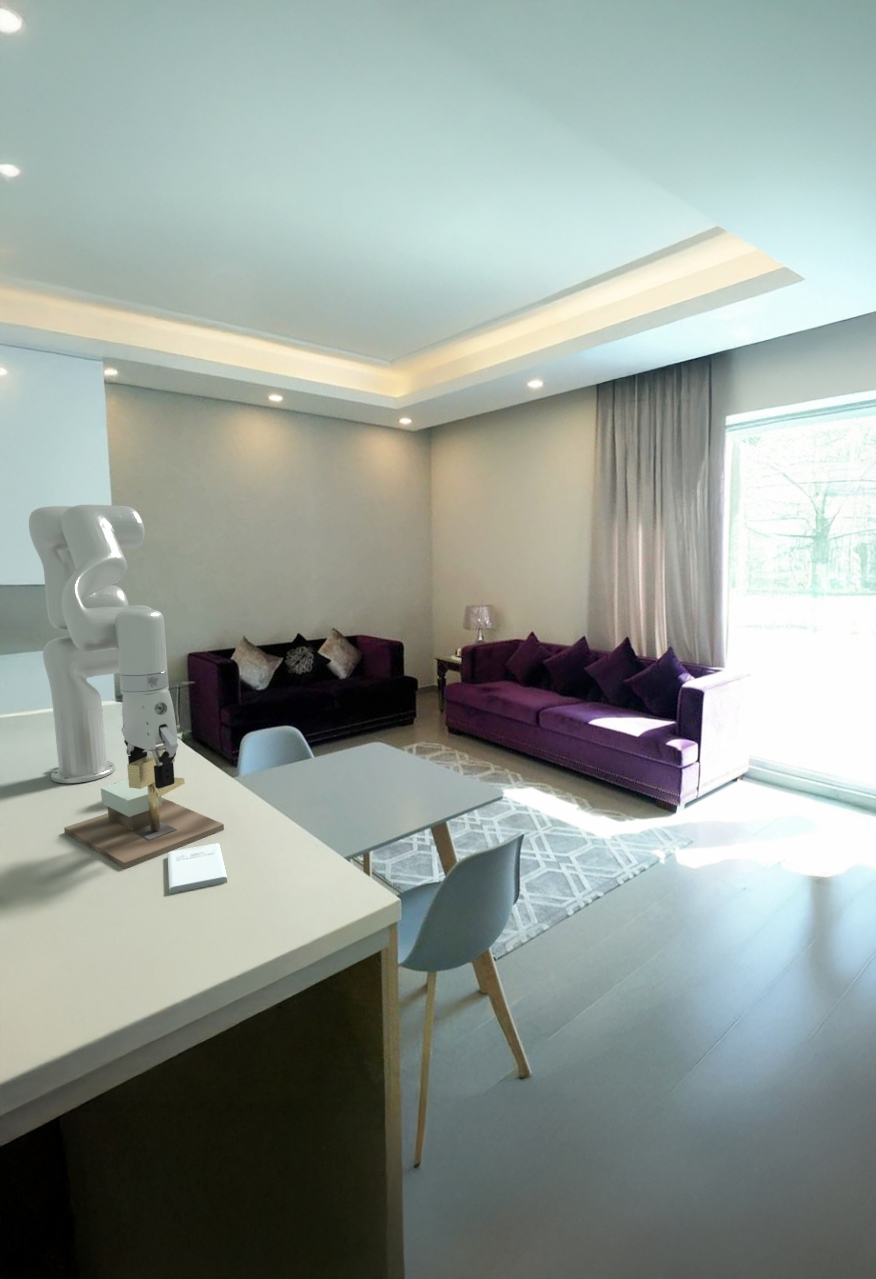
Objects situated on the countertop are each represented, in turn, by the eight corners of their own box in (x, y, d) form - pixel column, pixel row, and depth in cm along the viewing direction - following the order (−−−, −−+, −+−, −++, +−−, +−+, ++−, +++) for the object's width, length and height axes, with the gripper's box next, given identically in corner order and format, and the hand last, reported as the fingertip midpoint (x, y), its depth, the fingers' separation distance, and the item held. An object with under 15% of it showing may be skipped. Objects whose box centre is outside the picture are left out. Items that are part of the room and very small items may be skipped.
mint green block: (102, 803, 118) (100, 787, 118) (134, 793, 123) (132, 778, 122) (129, 816, 112) (127, 800, 112) (161, 805, 117) (160, 790, 116)
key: (176, 812, 120) (171, 745, 118) (187, 813, 119) (182, 746, 117) (133, 837, 110) (127, 764, 108) (144, 839, 109) (139, 766, 107)
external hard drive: (169, 897, 95) (167, 860, 106) (227, 885, 98) (220, 850, 109) (168, 887, 94) (167, 851, 106) (227, 875, 98) (219, 841, 109)
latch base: (64, 832, 115) (62, 811, 115) (159, 801, 129) (158, 782, 129) (125, 869, 102) (123, 845, 101) (223, 829, 116) (222, 808, 115)
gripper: (193, 684, 107) (199, 785, 109) (139, 673, 118) (147, 765, 120) (149, 692, 101) (157, 799, 104) (97, 679, 112) (106, 776, 114)
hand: (151, 780), depth 112 cm, fingers open, 8 cm apart
